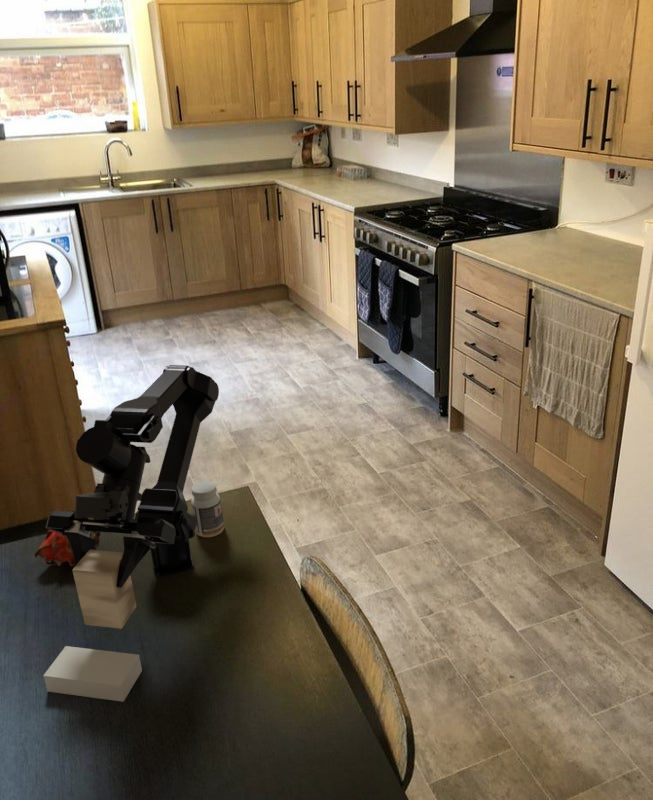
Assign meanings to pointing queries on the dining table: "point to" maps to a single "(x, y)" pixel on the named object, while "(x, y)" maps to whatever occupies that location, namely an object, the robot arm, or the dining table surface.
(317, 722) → the dining table surface
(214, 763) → the dining table surface
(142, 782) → the dining table surface
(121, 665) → the grey plinth
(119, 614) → the birch block
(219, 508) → the pill bottle
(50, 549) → the dragon fruit
